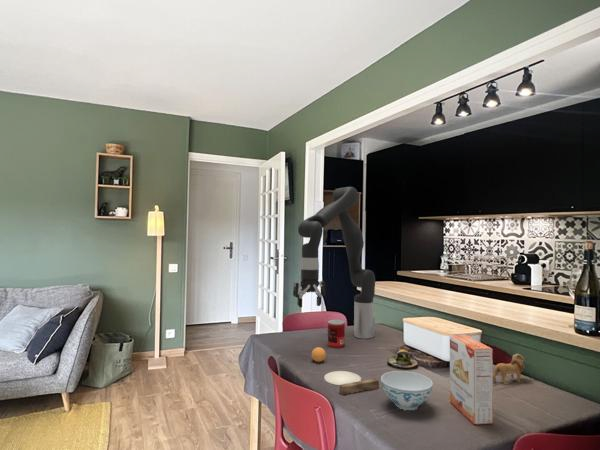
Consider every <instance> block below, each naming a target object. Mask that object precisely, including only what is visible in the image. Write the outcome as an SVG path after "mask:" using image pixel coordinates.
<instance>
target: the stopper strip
mask: <svg viewBox="0 0 600 450" xmlns="http://www.w3.org/2000/svg"><path fill="white" fill-rule="evenodd" d="M338 386H339V392H338V393H339V394H341V396H344V395H345V394H346V395H350V394H349V393H351V394H354V392H356V393H360V392H359V391H361V392H365V391H364V390H366V391H370V390H369V389H371V390H376V389H379V388H380V380H379V379H377V378H370V379H364V380H361V381H358V382H353V383H347V384H342V385H338ZM375 388H376V389H375Z"/></svg>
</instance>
